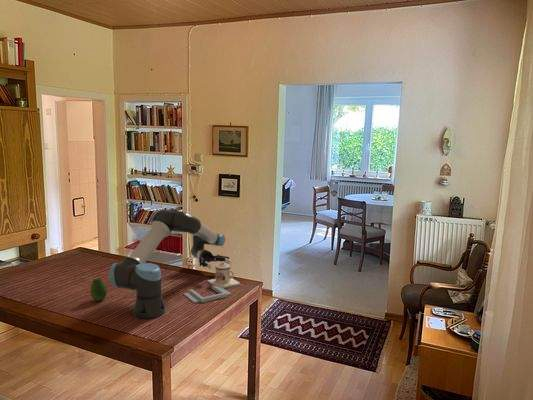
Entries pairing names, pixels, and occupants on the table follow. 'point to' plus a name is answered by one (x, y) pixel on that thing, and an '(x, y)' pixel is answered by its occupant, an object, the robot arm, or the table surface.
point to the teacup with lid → (223, 273)
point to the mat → (224, 285)
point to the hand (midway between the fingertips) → (220, 264)
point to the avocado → (98, 289)
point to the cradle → (197, 298)
